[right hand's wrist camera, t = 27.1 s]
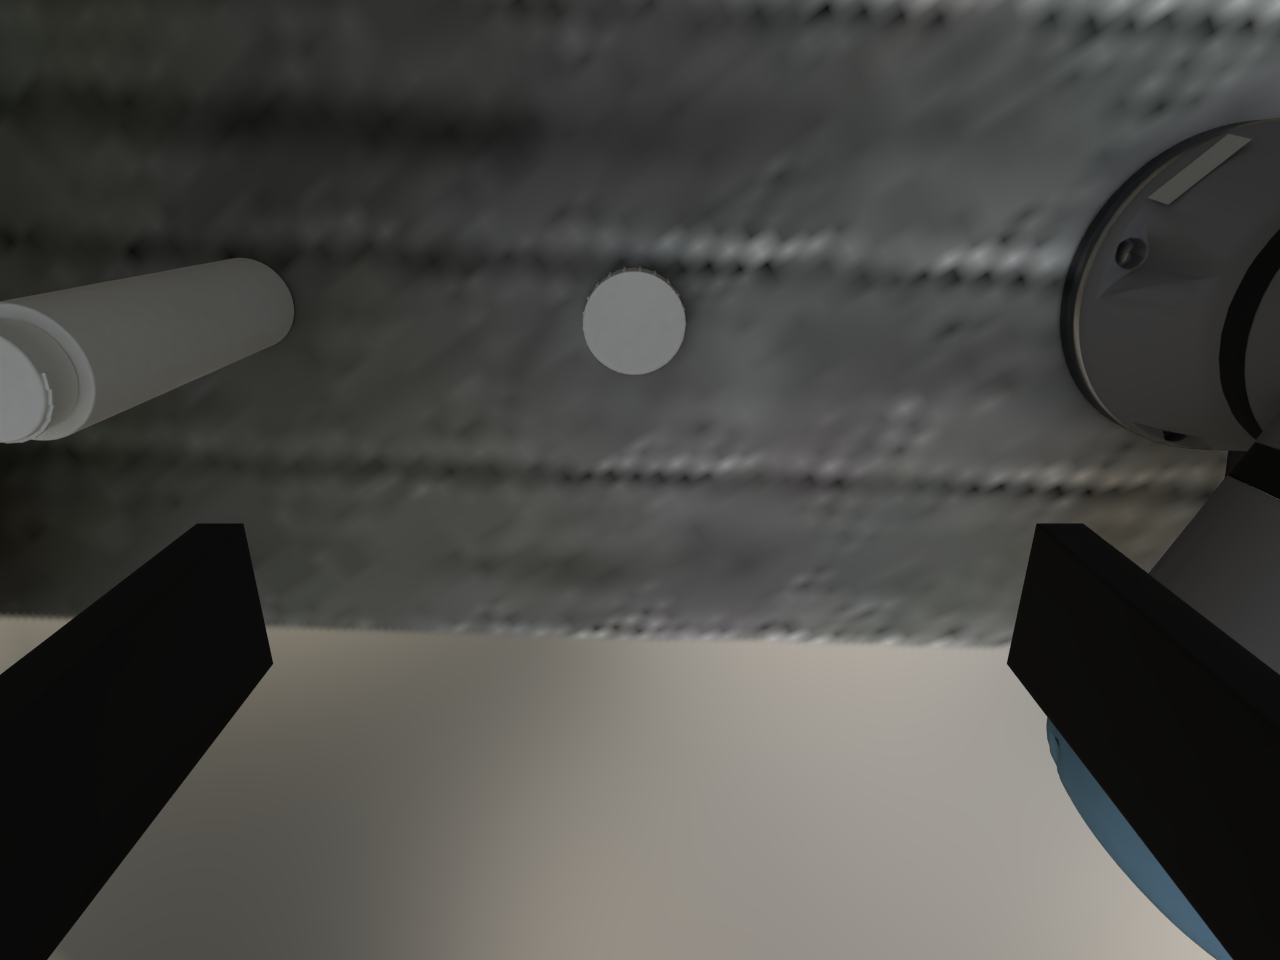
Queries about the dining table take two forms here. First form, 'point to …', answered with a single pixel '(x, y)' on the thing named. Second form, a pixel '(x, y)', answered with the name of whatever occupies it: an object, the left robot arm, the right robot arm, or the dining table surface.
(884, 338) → the dining table surface
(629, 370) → the lid
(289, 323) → the jar
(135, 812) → the right robot arm
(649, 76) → the dining table surface
